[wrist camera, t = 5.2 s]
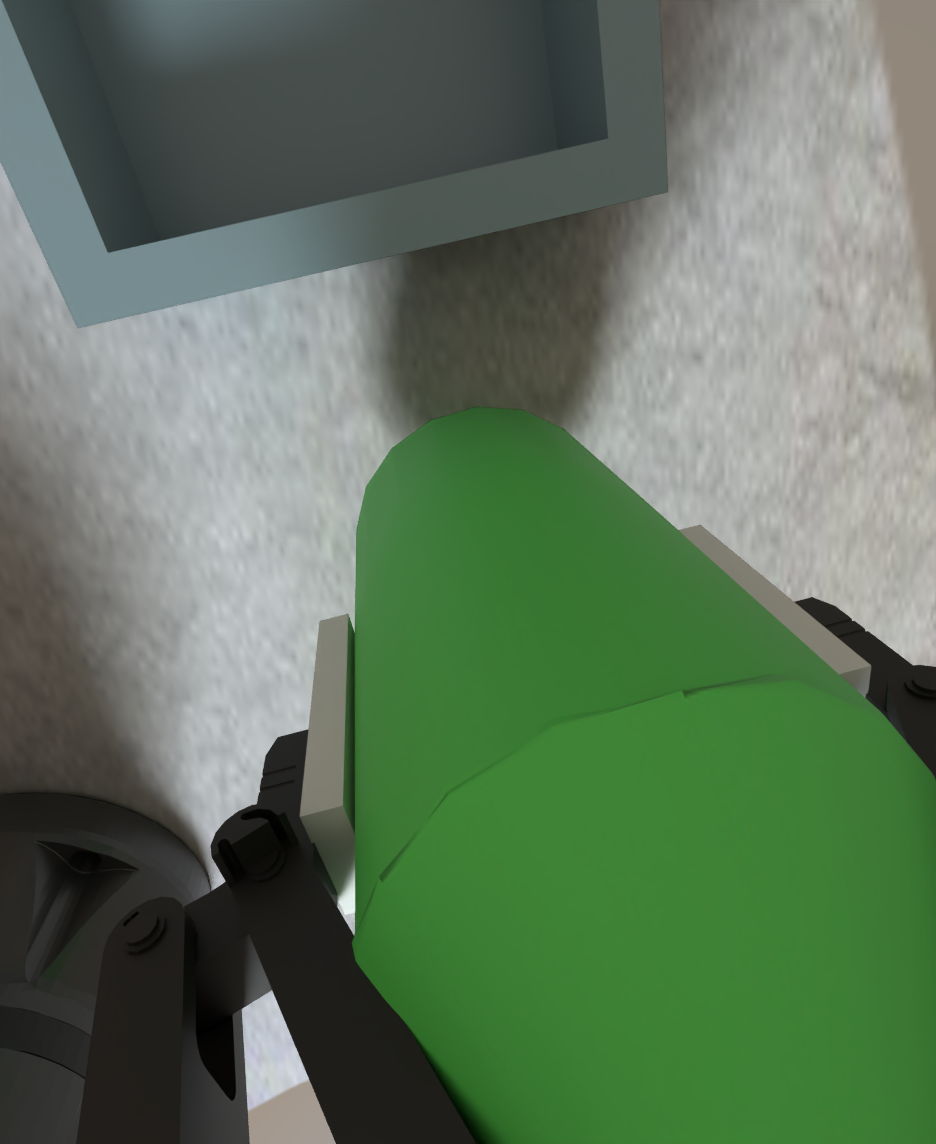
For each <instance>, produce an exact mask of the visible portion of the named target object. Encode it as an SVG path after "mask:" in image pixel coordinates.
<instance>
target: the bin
mask: <svg viewBox="0 0 936 1144" xmlns="http://www.w3.org/2000/svg"><path fill="white" fill-rule="evenodd" d="M0 162H1V164H2V166H3V168H4V170H5V173H6V175H7V177H8V179H9V181H10V183H11V186H12V188H13V190H14V192H15V194H16V196H17V199H18V201H19V203H20V205H21V207H22V209H23V212H24V214H25V216H26V218H27V220H28V222H29V224H30V227H31V229H32V231H33V233H34V235H35V237H36V240H37V242H38V244H39V246H40V248H41V250H42V253H43V255H44V257H45V259H46V261H47V263H48V266H49V268H50V270H51V272H52V274H53V276H54V278H55V281H56V283H57V285H58V287H59V289H60V291H61V294H62V296H63V298H64V300H65V302H66V304H67V307H68V309H69V311H70V313H71V315H72V317H73V320H74V322H75V324H76V326H77V328H82V327H86V326H90V325H95V324H99V323H103V322H108V321H112V320H116V319H121V318H125V317H129V316H134V315H138V314H142V313H147V312H151V311H155V310H160V309H164V308H168V307H173V306H177V305H181V304H186V303H190V302H194V301H199V300H203V299H207V298H212V297H216V296H220V295H225V294H229V293H233V292H238V291H242V290H246V289H251V288H255V287H259V286H264V285H268V284H272V283H276V282H281V281H285V280H289V279H294V278H298V277H302V276H307V275H311V274H315V273H320V272H324V271H328V270H333V269H337V268H341V267H346V266H350V265H354V264H359V263H363V262H367V261H372V260H376V259H380V258H385V257H389V256H393V255H398V254H402V253H406V252H411V251H415V250H419V249H424V248H428V247H432V246H437V245H441V244H445V243H450V242H454V241H458V240H463V239H467V238H471V237H476V236H480V235H484V234H489V233H493V232H497V231H502V230H506V229H510V228H515V227H519V226H523V225H528V224H532V223H536V222H541V221H545V220H549V219H554V218H558V217H562V216H567V215H571V214H575V213H580V212H584V211H588V210H593V209H597V208H601V207H606V206H610V205H614V204H619V203H623V202H627V201H631V200H636V199H640V198H644V197H649V196H653V195H657V194H662V193H666V192H668V176H667V155H666V134H665V113H664V92H663V71H662V50H661V29H660V8H659V0H0Z"/></svg>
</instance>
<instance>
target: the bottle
mask: <svg viewBox="0 0 936 1144" xmlns="http://www.w3.org/2000/svg"><path fill="white" fill-rule="evenodd" d="M352 946H353V951H354V956H355V960H356V962H357V964H358V965H359V967H360V968H361V969H362V971H363V972H364V973H365V975H366V976H367V977H368V979H369V980H370V981H371V982H372V984H373V985H374V986H375V988H376V989H377V990H378V991H379V993H380V994H381V995H382V996H383V998H384V999H385V1000H386V1001H387V1003H388V1004H389V1005H390V1006H391V1007H392V1008H393V1009H394V1010H395V1012H396V1013H397V1014H398V1015H399V1016H400V1017H401V1018H402V1019H403V1020H404V1022H405V1023H406V1025H407V1027H408V1028H409V1030H410V1032H411V1034H412V1035H413V1037H414V1039H415V1040H416V1042H417V1044H418V1046H419V1047H420V1049H421V1051H422V1052H423V1054H424V1056H425V1057H426V1059H427V1061H428V1063H429V1064H430V1066H431V1068H432V1069H433V1071H434V1073H435V1074H436V1076H437V1078H438V1080H439V1081H440V1083H441V1085H442V1086H443V1088H444V1090H445V1092H446V1093H447V1095H448V1097H449V1098H450V1100H451V1102H452V1103H453V1105H454V1107H455V1109H456V1110H457V1112H458V1114H459V1115H460V1117H461V1119H462V1120H463V1122H464V1124H465V1126H466V1127H467V1129H468V1131H469V1132H470V1134H471V1136H472V1137H473V1139H474V1141H475V1143H476V1144H936V780H935V777H934V775H933V773H932V772H931V771H930V770H929V768H928V767H927V766H926V765H925V764H924V762H923V761H922V760H921V759H920V758H919V756H918V755H917V754H916V753H915V752H914V750H913V749H912V748H911V747H910V746H909V744H908V743H907V742H906V741H905V740H904V738H903V737H902V736H901V735H900V734H899V732H898V731H897V730H896V729H895V728H894V727H893V725H892V724H891V723H890V722H889V721H888V719H887V718H886V717H885V716H884V715H883V714H882V713H881V712H880V711H879V710H878V709H877V708H876V707H875V706H874V705H873V704H872V703H870V702H869V701H868V700H867V699H866V698H865V697H864V696H863V695H861V694H860V693H859V692H858V691H857V690H856V689H855V688H854V687H853V686H851V685H850V684H849V683H848V682H847V681H846V680H845V679H844V678H843V677H841V676H840V675H839V674H838V673H837V672H836V671H835V670H834V669H832V668H831V667H830V666H829V665H828V664H827V663H826V662H825V661H824V660H822V659H821V658H820V657H819V656H818V655H817V654H816V653H815V652H813V651H812V650H811V649H810V648H809V647H808V646H807V645H806V644H805V643H803V642H802V641H801V640H800V639H799V638H798V637H797V636H796V635H795V634H793V633H792V632H791V631H790V630H789V629H788V628H787V627H786V626H784V625H783V624H782V623H781V622H780V621H779V620H778V619H777V618H776V617H774V616H773V615H772V614H771V613H770V612H769V611H768V610H767V609H765V608H764V607H763V606H762V605H761V604H760V603H759V602H758V601H757V600H755V599H754V598H753V597H752V596H751V595H750V594H749V593H748V592H747V591H745V590H744V589H743V588H742V587H741V586H740V585H739V584H738V583H736V582H735V581H734V580H733V579H732V578H731V577H730V576H729V575H728V574H726V573H725V572H724V571H723V570H722V569H721V568H720V567H719V566H717V565H716V564H715V563H714V562H713V561H712V560H711V559H710V558H709V557H707V556H706V555H705V554H704V553H703V552H702V551H701V550H700V549H699V548H697V547H696V546H695V545H694V544H693V543H692V542H691V541H690V540H688V539H687V538H686V537H685V536H684V535H683V534H682V533H681V532H680V531H678V530H677V529H676V528H675V527H674V526H673V525H672V524H671V523H669V522H668V521H667V520H666V519H665V518H664V517H663V516H662V515H661V514H659V513H658V512H657V511H656V510H655V509H654V508H653V507H652V506H650V505H649V504H648V503H647V502H646V501H645V500H644V499H643V498H641V497H640V496H639V495H638V494H637V493H636V492H635V491H634V490H632V489H631V488H630V487H629V486H628V485H627V484H626V483H624V482H623V481H622V480H621V479H620V478H619V477H618V476H617V475H615V474H614V473H613V472H612V471H611V470H610V469H609V468H607V467H606V466H605V465H604V464H603V463H602V462H601V461H600V460H598V459H597V458H596V457H595V456H594V455H593V454H592V453H590V452H589V451H588V450H587V449H586V448H585V447H584V446H583V445H581V444H580V443H579V442H578V441H577V440H576V439H575V438H573V437H572V436H571V435H570V434H569V433H568V432H567V431H566V430H564V429H563V428H561V427H558V426H556V425H554V424H552V423H550V422H548V421H546V420H544V419H542V418H539V417H537V416H535V415H533V414H531V413H529V412H527V411H525V410H518V409H502V408H487V407H474V408H471V409H467V410H464V411H461V412H457V413H454V414H450V415H447V416H443V417H440V418H437V419H433V420H430V421H429V422H427V423H426V424H425V425H423V426H422V427H421V428H419V429H418V430H416V431H415V432H414V433H412V434H411V435H410V436H408V437H407V438H405V439H404V440H403V441H401V442H400V443H399V444H397V445H396V446H394V447H393V448H392V449H391V450H390V452H389V453H388V455H387V456H386V458H385V459H384V461H383V462H382V464H381V465H380V467H379V468H378V470H377V471H376V473H375V474H374V476H373V477H372V479H371V480H370V482H369V483H368V485H367V486H366V489H365V494H364V498H363V503H362V507H361V512H360V516H359V521H358V525H357V532H356V591H355V935H354V938H353V941H352Z"/></svg>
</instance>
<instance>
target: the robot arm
mask: <svg viewBox="0 0 936 1144" xmlns="http://www.w3.org/2000/svg"><path fill="white" fill-rule="evenodd" d="M678 531H680V532H681V533H682V534H683V535H684V536H685V537H686V538H687V539H688V540H690V541H691V542H692V543H693V544H694V545H695V546H696V547H697V548H699V549H700V550H701V551H702V552H703V553H704V554H705V555H706V556H707V557H709V558H710V559H711V560H712V561H713V562H714V563H715V564H716V565H717V566H719V567H720V568H721V569H722V570H723V571H724V572H725V573H726V574H728V575H729V576H730V577H731V578H732V579H733V580H734V581H735V582H736V583H738V584H739V585H740V586H741V587H742V588H743V589H744V590H745V591H747V592H748V593H749V594H750V595H751V596H752V597H753V598H754V599H755V600H757V601H758V602H759V603H760V604H761V605H762V606H763V607H764V608H765V609H767V610H768V611H769V612H770V613H771V614H772V615H773V616H774V617H776V618H777V619H778V620H779V621H780V622H781V623H782V624H783V625H784V626H786V627H787V628H788V629H789V630H790V631H791V632H792V633H793V634H795V635H796V636H797V637H798V638H799V639H800V640H801V641H802V642H803V643H805V644H806V645H807V646H808V647H809V648H810V649H811V650H812V651H813V652H815V653H816V654H817V655H818V656H819V657H820V658H821V659H822V660H824V661H825V662H826V663H827V664H828V665H829V666H830V667H831V668H832V669H834V670H835V671H836V672H837V673H838V674H839V675H840V676H841V677H843V678H844V679H845V680H846V681H847V682H848V683H849V684H850V685H851V686H853V687H854V688H855V689H856V690H857V691H858V692H859V693H860V694H861V695H863V696H864V697H865V698H866V699H867V700H868V701H869V702H870V703H872V704H873V705H874V706H875V707H876V708H877V709H878V710H879V711H880V712H881V713H882V714H883V715H884V716H885V717H886V718H887V719H888V721H889V722H890V723H891V724H892V725H893V727H894V728H895V729H896V730H897V731H898V732H899V734H900V735H901V736H902V737H903V738H904V740H905V741H906V742H907V743H908V744H909V746H910V747H911V748H912V749H913V750H914V752H915V753H916V754H917V755H918V756H919V758H920V759H921V760H922V761H923V762H924V764H925V765H926V766H927V767H928V768H929V770H930V771H931V772H932V773H933V775H934V777H935V780H936V667H932V666H924V665H914V666H913V665H912V664H910V663H909V662H908V661H906V660H905V659H904V658H902V657H901V656H900V655H899V654H897V653H896V652H895V651H893V650H892V649H891V648H889V647H888V646H887V645H885V644H884V643H883V642H882V641H880V640H879V639H878V638H876V637H875V636H874V635H872V634H871V633H870V632H868V631H867V632H866V631H865V629H864V628H863V627H862V626H861V625H859V624H858V623H857V622H855V621H852V619H851V618H850V617H849V616H847V615H846V614H845V613H843V612H842V611H841V610H840V609H838V608H837V607H836V606H834V605H831V604H828V603H826V602H823V601H821V600H818V599H815V598H813V597H811V598H807V599H803V600H800V601H796V602H793V601H792V600H791V599H790V598H789V597H787V596H786V595H785V594H784V593H783V592H781V591H780V590H779V589H778V588H777V587H775V586H774V585H773V584H772V583H770V582H769V581H768V580H767V579H766V578H764V577H763V576H762V575H761V574H760V573H758V572H757V571H756V570H755V569H753V568H752V567H751V566H750V565H749V564H747V563H746V562H745V561H744V560H743V559H741V558H740V557H739V556H738V555H737V554H735V553H734V552H733V551H732V550H730V549H729V548H728V547H727V546H726V545H724V544H723V543H722V542H721V541H720V540H718V539H717V538H716V537H715V536H713V535H712V534H711V533H710V532H709V531H707V530H706V529H705V528H704V527H703V526H701V525H697V526H693V527H689V528H685V529H681V530H678ZM211 855H212V858H213V860H214V862H215V863H216V865H217V867H218V869H219V870H220V872H221V874H222V876H223V877H224V879H225V881H226V882H225V883H223V884H222V885H220V886H219V887H217V888H216V889H214V890H213V891H211V892H210V886H209V883H208V879H207V877H206V875H205V872H204V870H203V868H202V867H201V865H200V863H199V862H198V860H197V859H196V857H195V856H194V855H193V854H192V852H191V851H190V850H189V849H188V848H187V847H186V846H185V845H184V844H183V843H182V842H181V841H180V840H178V839H177V838H176V837H175V836H174V835H172V834H171V833H170V832H168V831H167V830H165V829H164V828H162V827H161V826H159V825H157V824H156V823H154V822H152V821H151V820H149V819H147V818H145V817H143V816H141V815H138V814H136V813H134V812H131V811H129V810H126V809H124V808H121V807H118V806H115V805H112V804H108V803H105V802H101V801H97V800H93V799H88V798H83V797H76V796H70V795H60V794H45V793H27V794H12V795H3V796H0V1144H249V1126H248V1109H247V1092H246V1076H245V1059H244V1042H243V1025H242V1008H244V1007H245V1006H247V1005H249V1004H250V1003H252V1002H253V1001H255V1000H257V999H258V998H260V997H261V996H263V995H265V994H266V993H268V992H269V991H271V990H272V991H273V993H274V996H275V998H276V1000H277V1003H278V1005H279V1008H280V1010H281V1012H282V1015H283V1017H284V1020H285V1022H286V1024H287V1027H288V1029H289V1032H290V1034H291V1036H292V1039H293V1041H294V1044H295V1046H296V1048H297V1051H298V1053H299V1056H300V1058H301V1061H302V1063H303V1065H304V1068H305V1070H306V1073H307V1075H308V1077H309V1080H310V1082H311V1084H312V1087H313V1089H314V1092H315V1093H316V1097H317V1099H318V1101H319V1104H320V1106H321V1108H322V1111H323V1113H324V1116H325V1118H326V1121H327V1123H328V1125H329V1127H330V1130H331V1133H332V1135H333V1137H334V1140H335V1142H336V1144H476V1143H475V1141H474V1139H473V1137H472V1136H471V1134H470V1132H469V1131H468V1129H467V1127H466V1126H465V1124H464V1122H463V1120H462V1119H461V1117H460V1115H459V1114H458V1112H457V1110H456V1109H455V1107H454V1105H453V1103H452V1102H451V1100H450V1098H449V1097H448V1095H447V1093H446V1092H445V1090H444V1088H443V1086H442V1085H441V1083H440V1081H439V1080H438V1078H437V1076H436V1074H435V1073H434V1071H433V1069H432V1068H431V1066H430V1064H429V1063H428V1061H427V1059H426V1057H425V1056H424V1054H423V1052H422V1051H421V1049H420V1047H419V1046H418V1044H417V1042H416V1040H415V1039H414V1037H413V1035H412V1034H411V1032H410V1030H409V1028H408V1027H407V1025H406V1023H405V1022H404V1020H403V1019H402V1018H401V1017H400V1016H399V1015H398V1014H397V1013H396V1012H395V1010H394V1009H393V1008H392V1007H391V1006H390V1005H389V1004H388V1003H387V1001H386V1000H385V999H384V998H383V996H382V995H381V994H380V993H379V991H378V990H377V989H376V988H375V986H374V985H373V984H372V982H371V981H370V980H369V979H368V977H367V976H366V975H365V973H364V972H363V971H362V969H361V968H360V967H359V965H358V964H357V962H356V960H355V956H354V951H353V946H352V941H353V938H354V935H353V933H352V931H351V930H350V928H349V926H348V925H347V923H346V921H345V920H344V918H343V916H342V914H341V913H340V911H339V909H338V908H337V900H338V901H339V903H340V905H341V907H342V909H343V911H344V913H345V915H347V914H351V913H354V912H355V632H354V630H353V627H352V624H351V621H350V618H349V615H348V614H345V615H341V616H338V617H334V618H330V619H326V620H322V621H320V623H319V633H318V643H317V652H316V662H315V672H314V682H313V691H312V701H311V711H310V721H309V729H308V730H304V731H300V732H296V733H293V734H289V735H285V736H281V737H278V738H277V739H276V741H275V742H274V744H273V745H272V747H271V748H270V750H269V751H268V753H267V755H266V757H265V762H264V768H263V777H262V779H261V785H260V793H259V796H258V801H257V804H256V805H251V806H249V807H247V808H245V809H242V810H240V811H238V812H237V813H235V814H234V815H233V816H231V817H230V818H229V819H227V820H226V821H225V822H224V823H223V825H222V826H221V827H220V828H219V830H218V831H217V832H216V833H215V836H214V838H213V841H212V844H211Z"/></svg>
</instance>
